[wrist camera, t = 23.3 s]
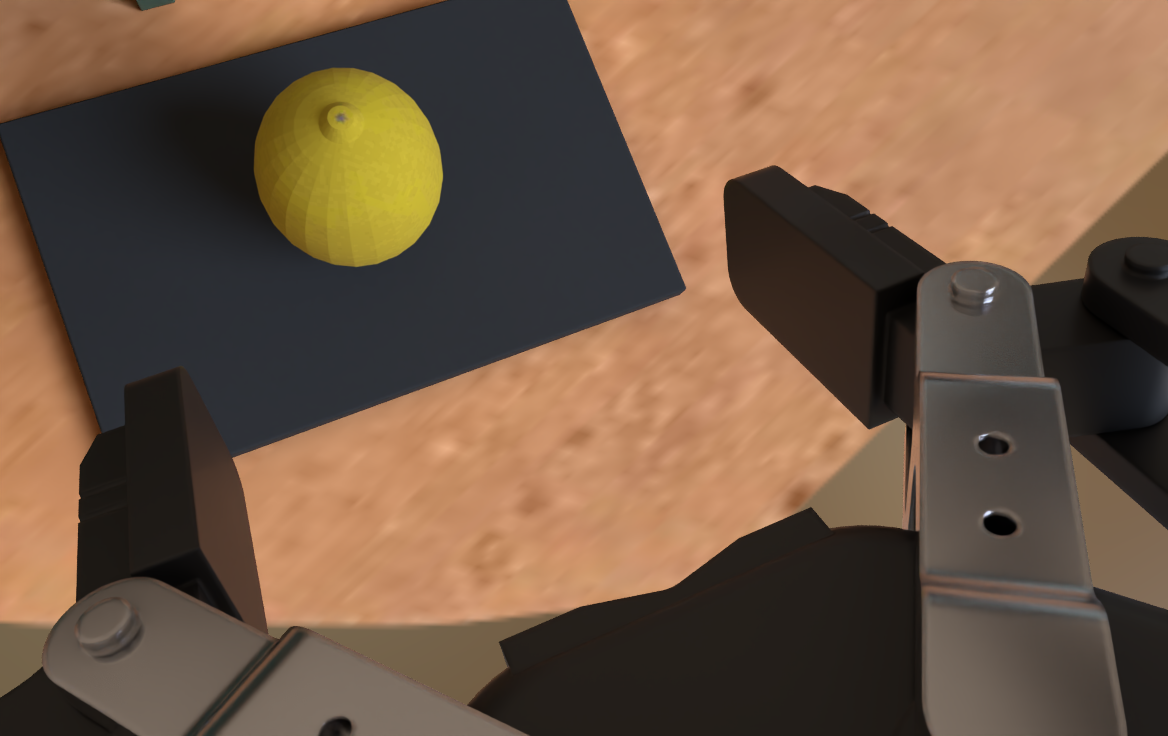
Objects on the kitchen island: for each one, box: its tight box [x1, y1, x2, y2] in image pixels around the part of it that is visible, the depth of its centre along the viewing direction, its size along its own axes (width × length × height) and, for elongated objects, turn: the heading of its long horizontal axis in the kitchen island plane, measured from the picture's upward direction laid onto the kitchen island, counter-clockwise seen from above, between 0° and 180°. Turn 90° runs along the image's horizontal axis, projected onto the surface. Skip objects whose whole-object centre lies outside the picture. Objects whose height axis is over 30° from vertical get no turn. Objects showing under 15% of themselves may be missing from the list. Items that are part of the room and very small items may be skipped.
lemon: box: [254, 68, 443, 267], centre depth 29 cm, size 6×6×8 cm
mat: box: [0, 0, 686, 458], centre depth 34 cm, size 20×13×1 cm, turn 112°
